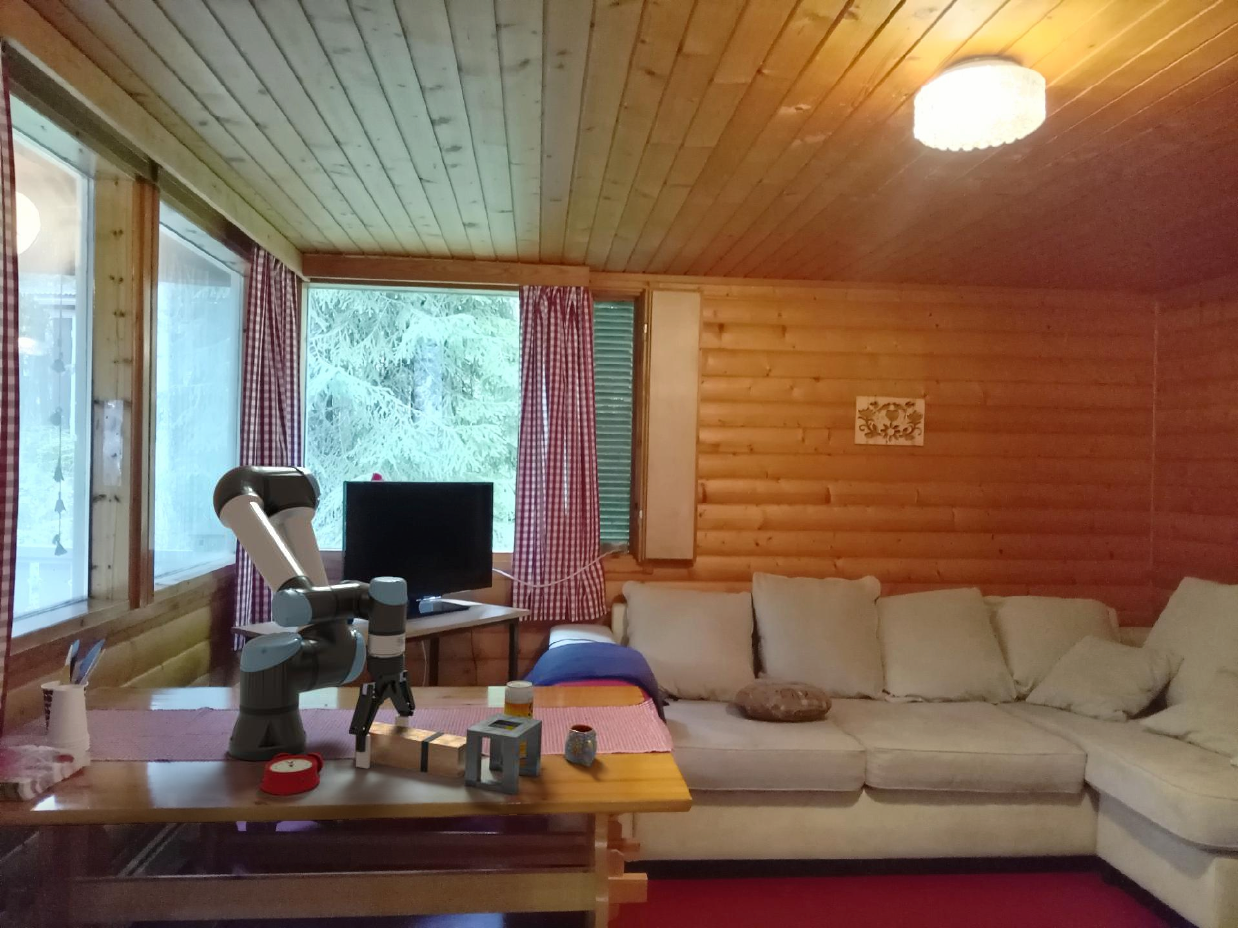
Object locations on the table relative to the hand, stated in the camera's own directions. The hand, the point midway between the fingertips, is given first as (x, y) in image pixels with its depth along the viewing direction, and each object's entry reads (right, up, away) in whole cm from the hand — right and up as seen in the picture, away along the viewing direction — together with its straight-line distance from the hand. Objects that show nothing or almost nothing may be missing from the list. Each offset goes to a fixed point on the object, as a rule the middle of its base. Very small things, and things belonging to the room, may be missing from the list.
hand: (382, 756), depth 176 cm
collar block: (+26, -1, -9) cm, 28 cm away
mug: (+41, -2, +2) cm, 41 cm away
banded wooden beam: (+7, -1, -2) cm, 7 cm away
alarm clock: (-13, 0, -14) cm, 19 cm away
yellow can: (+27, -1, +5) cm, 28 cm away
